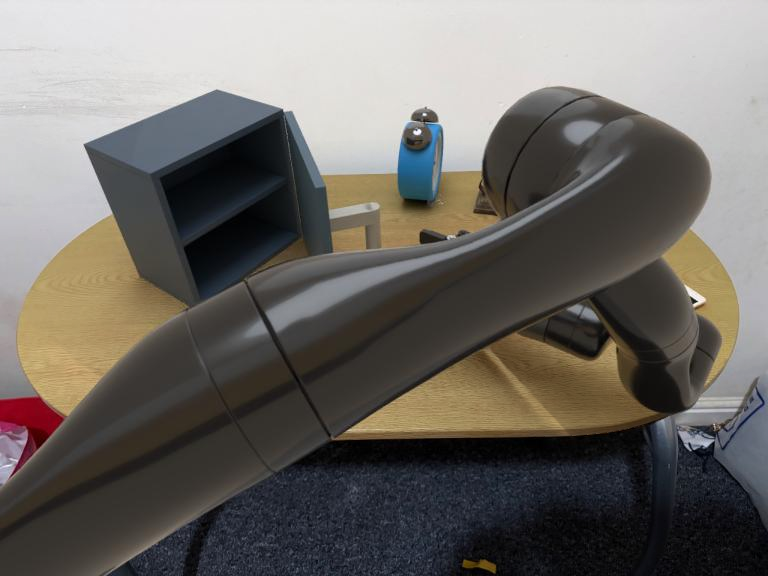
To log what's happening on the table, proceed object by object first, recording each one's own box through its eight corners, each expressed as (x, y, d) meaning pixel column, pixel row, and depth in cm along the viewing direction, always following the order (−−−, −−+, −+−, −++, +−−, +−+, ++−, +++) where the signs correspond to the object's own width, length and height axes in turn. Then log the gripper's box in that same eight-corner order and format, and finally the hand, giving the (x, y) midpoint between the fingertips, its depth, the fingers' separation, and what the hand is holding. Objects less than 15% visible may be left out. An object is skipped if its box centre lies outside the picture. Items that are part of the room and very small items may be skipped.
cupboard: (303, 237, 89) (283, 108, 75) (198, 312, 76) (149, 173, 62) (245, 211, 96) (216, 89, 81) (139, 276, 82) (82, 144, 68)
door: (351, 229, 90) (340, 103, 76) (390, 314, 74) (386, 175, 60) (303, 238, 89) (283, 111, 74) (333, 328, 73) (315, 188, 58)
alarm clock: (430, 216, 93) (433, 134, 83) (396, 212, 94) (394, 131, 84) (442, 178, 103) (446, 102, 93) (410, 175, 104) (411, 99, 94)
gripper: (549, 242, 63) (432, 202, 71) (494, 311, 55) (367, 257, 62) (539, 289, 68) (431, 247, 75) (487, 359, 60) (370, 304, 67)
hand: (402, 252), depth 69 cm, fingers open, 8 cm apart
